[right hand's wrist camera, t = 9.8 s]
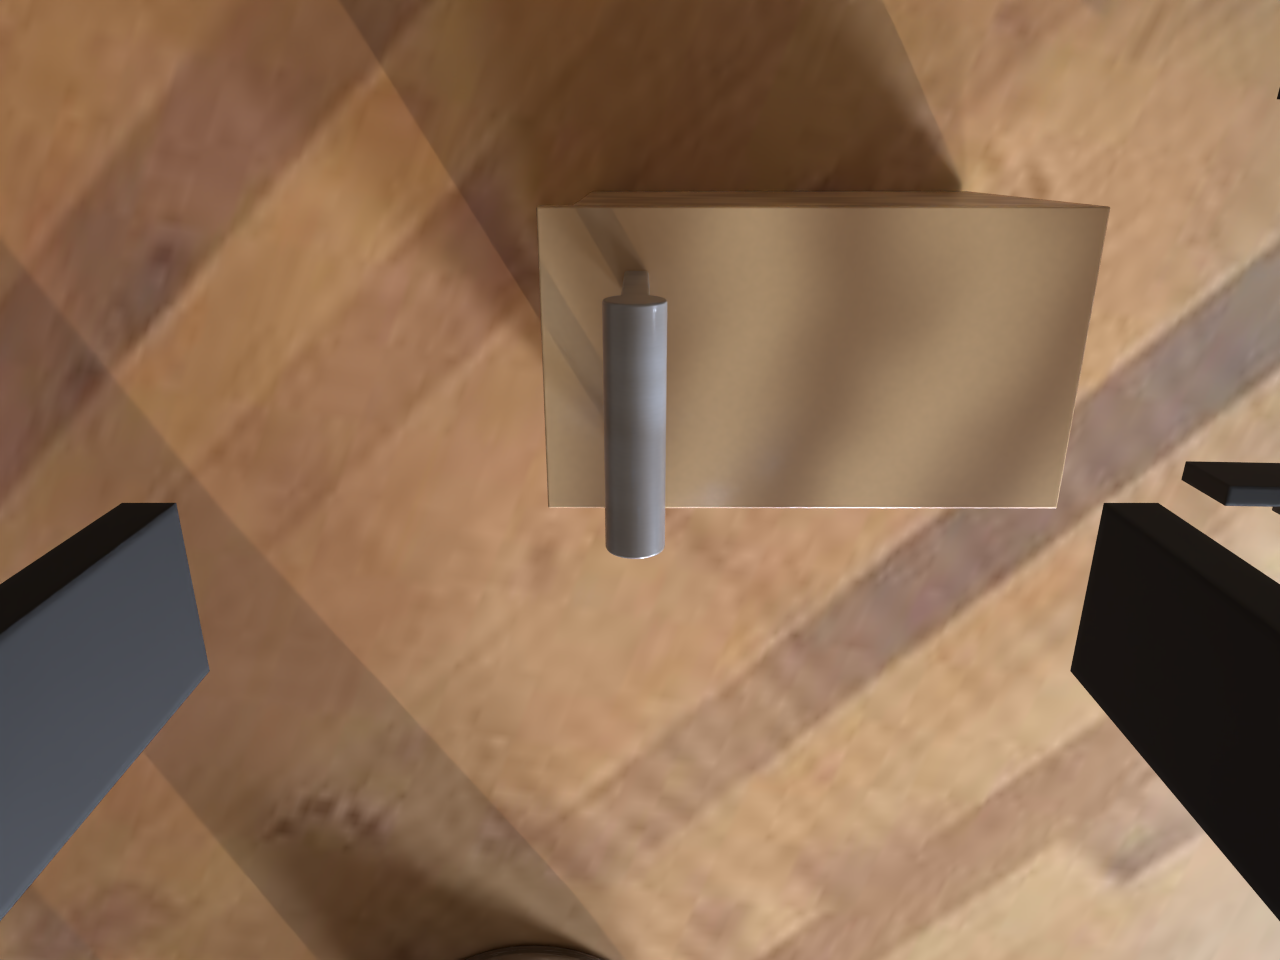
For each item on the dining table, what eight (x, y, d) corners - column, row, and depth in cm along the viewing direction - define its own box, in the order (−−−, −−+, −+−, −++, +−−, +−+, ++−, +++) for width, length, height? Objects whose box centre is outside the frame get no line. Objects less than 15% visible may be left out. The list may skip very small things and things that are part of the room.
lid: (550, 498, 28) (518, 619, 21) (539, 204, 25) (496, 225, 18) (1044, 498, 28) (1189, 620, 21) (1096, 204, 25) (1287, 225, 18)
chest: (595, 409, 38) (579, 497, 28) (591, 191, 35) (572, 204, 25) (940, 410, 38) (1044, 497, 28) (967, 191, 35) (1095, 204, 25)
